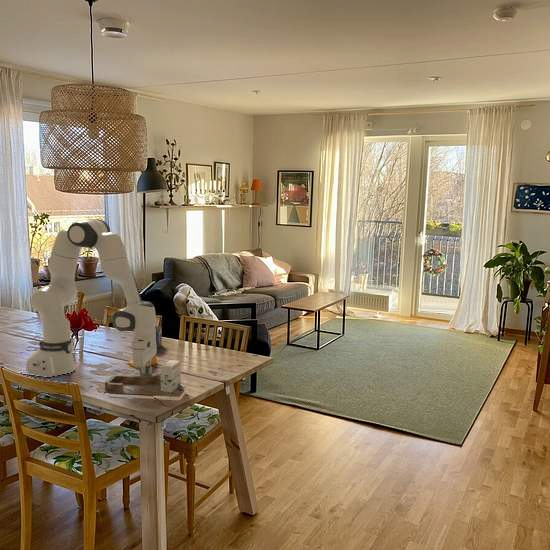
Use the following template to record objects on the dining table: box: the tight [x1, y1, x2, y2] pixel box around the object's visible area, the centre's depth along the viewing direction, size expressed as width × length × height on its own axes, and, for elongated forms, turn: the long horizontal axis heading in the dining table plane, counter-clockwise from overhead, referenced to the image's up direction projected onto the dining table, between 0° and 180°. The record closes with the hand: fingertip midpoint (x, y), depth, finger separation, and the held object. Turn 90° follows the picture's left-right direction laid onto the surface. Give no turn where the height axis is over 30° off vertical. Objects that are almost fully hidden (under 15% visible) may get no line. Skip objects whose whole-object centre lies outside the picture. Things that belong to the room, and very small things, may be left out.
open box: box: [103, 374, 161, 397], centre depth 221 cm, size 20×11×4 cm, turn 85°
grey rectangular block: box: [139, 362, 153, 376], centre depth 233 cm, size 4×4×6 cm
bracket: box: [128, 354, 158, 369], centre depth 249 cm, size 11×7×12 cm, turn 140°
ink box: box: [159, 359, 181, 393], centre depth 220 cm, size 9×5×12 cm, turn 163°
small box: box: [155, 325, 163, 351], centre depth 278 cm, size 11×6×10 cm, turn 178°
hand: (145, 370), depth 233 cm, fingers closed on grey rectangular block, 4 cm apart
